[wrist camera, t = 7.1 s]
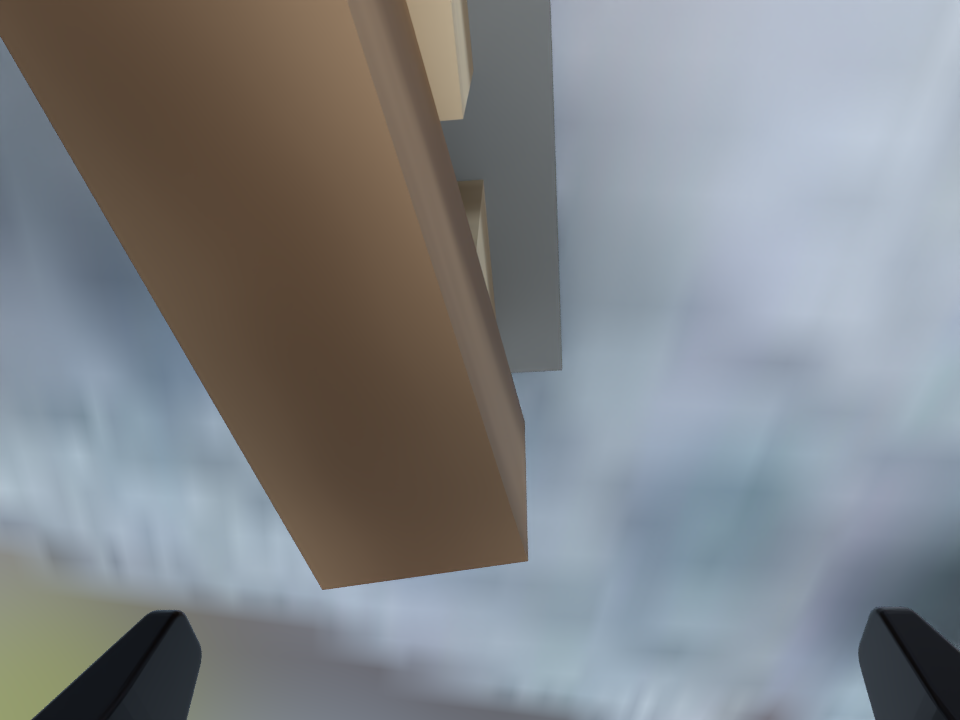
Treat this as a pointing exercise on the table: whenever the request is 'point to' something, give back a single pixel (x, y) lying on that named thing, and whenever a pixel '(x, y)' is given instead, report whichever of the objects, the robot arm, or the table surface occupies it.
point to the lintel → (302, 259)
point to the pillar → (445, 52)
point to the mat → (515, 172)
